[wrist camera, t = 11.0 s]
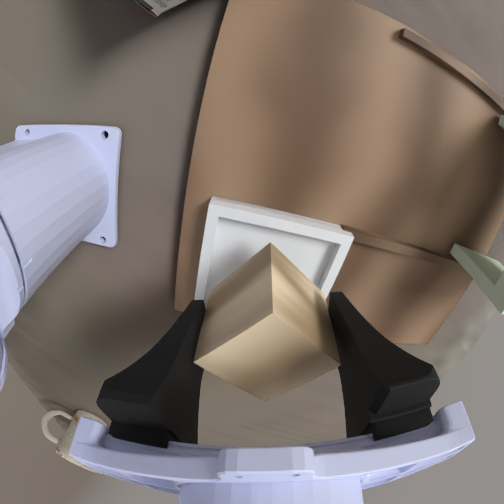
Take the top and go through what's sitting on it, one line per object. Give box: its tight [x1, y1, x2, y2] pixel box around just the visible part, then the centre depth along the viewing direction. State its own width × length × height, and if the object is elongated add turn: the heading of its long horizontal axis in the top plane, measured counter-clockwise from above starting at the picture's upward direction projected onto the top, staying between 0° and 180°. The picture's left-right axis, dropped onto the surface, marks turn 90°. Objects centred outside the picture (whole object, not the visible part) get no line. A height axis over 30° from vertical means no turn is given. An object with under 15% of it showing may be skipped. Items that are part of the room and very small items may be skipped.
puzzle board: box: [174, 0, 504, 344], centre depth 15 cm, size 23×22×1 cm
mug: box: [42, 410, 107, 473], centre depth 31 cm, size 8×13×10 cm, turn 63°
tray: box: [194, 196, 354, 307], centre depth 17 cm, size 8×8×1 cm
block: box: [193, 242, 341, 401], centre depth 13 cm, size 4×4×5 cm
